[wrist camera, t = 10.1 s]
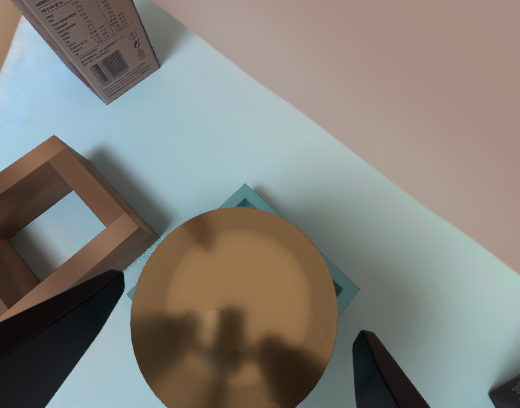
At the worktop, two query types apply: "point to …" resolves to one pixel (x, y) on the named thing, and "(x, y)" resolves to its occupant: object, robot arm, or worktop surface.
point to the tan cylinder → (234, 313)
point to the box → (507, 395)
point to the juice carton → (95, 41)
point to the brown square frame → (43, 197)
